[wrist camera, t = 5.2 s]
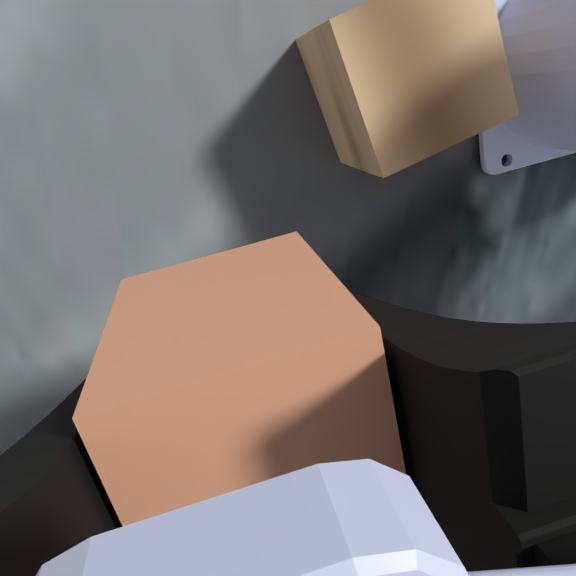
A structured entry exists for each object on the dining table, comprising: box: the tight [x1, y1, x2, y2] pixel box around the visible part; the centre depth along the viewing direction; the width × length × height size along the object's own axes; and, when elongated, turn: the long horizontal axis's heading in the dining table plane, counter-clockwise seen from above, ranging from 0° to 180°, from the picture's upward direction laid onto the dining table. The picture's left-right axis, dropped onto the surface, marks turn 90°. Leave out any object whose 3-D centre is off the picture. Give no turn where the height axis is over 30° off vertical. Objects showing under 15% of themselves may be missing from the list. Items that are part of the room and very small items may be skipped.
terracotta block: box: [72, 231, 406, 526], centre depth 11 cm, size 4×4×6 cm
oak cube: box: [295, 0, 519, 178], centre depth 18 cm, size 5×5×5 cm
